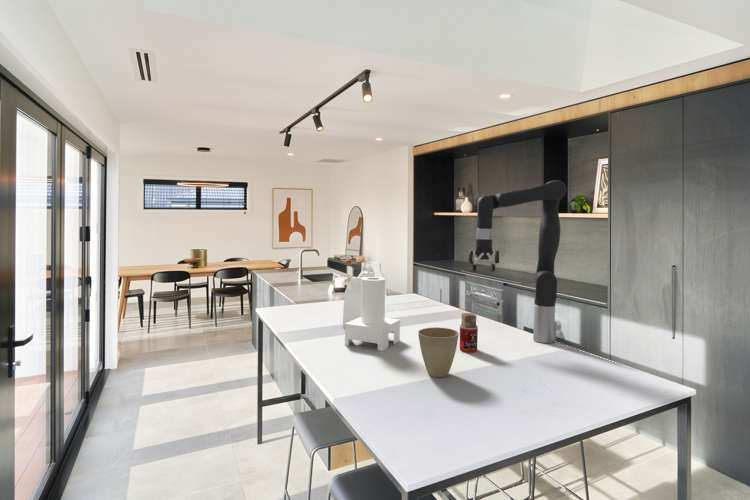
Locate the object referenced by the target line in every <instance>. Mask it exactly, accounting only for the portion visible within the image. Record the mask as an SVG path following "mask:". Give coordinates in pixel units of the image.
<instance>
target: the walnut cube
mask: <svg viewBox="0 0 750 500" xmlns="http://www.w3.org/2000/svg"><path fill="white" fill-rule="evenodd" d="M461 324H462V325H463V326H464V327H476V325H477V315H476V314H475V313H473V312H470V313H469V312H465V313H463V312H462V313H461Z"/></svg>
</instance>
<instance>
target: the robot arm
mask: <svg viewBox="0 0 750 500" xmlns="http://www.w3.org/2000/svg"><path fill="white" fill-rule="evenodd" d="M567 191H568V189H567V186H566V184H565V183H564V182H563V181H561V180H559V179H555V180H553V179H552V180H549V181H547V182H546V183H544V184H542V185H539V186H534V187H530V188H529V187H528V188H522V189H515V190H510V191H509V190H508V191H503V192H500V193H497V194H490V195H489V194H488V195H482V196H480V197H479V198H478V199H477V202H476V206H477V215H478V216H477V219H476V233H475V250H472V249H471V250H468V260H467V261H468V263H469V264H471V266H472V267H471V271H472V272H473V273H477V263H478V262H479V261H480V260H481V261H483V260H488V261H489V263H491V264H490V272H491V273H494V272H495V271H496V264H499V263H500V252H499V250H493V238H494V237H493V214H494V210H495V209H499V208H500V209H501V208H509V207H515V206H518V205H519V206H520V205H523V204H526V203H531V202H537V201H538V202H539V201H541V202H542V203H541V205H542V207H541V216H540V223H539V231H538V247H537V248H538V249H537V252H538V254H537V256H538V257H537V258H538V260H537V266H536V271H535V276H534V283H535V297H534V302H533V303H534V308H533V309H534V310H533V311H534V313H533V334H532V336H533V337H532V340H533V341H534V342H537V343H541V344H551V343H556V341H557V323H558V322H557V321H555V319H556V304H557V303H556V301H557V296H558V295H557V294H558V278H557V277H556V275H555V260H556V257H557V253H558V250H559V245H560V240H561V222H560V216H559V215H560V214H559V209H560V201H561V200H562V199H563V198H564V197H565V196H566V193H567ZM474 255H476V256H475V257H474ZM492 255H494V258H493V257H492ZM473 257H474V259H473Z"/></svg>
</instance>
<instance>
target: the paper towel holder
mask: <svg viewBox="0 0 750 500" xmlns="http://www.w3.org/2000/svg"><path fill="white" fill-rule="evenodd" d="M389 334H393V344H394V345H395V344H396V343H398V342H400V341H401V319H397V318H396V319H395V318H388V317H386V278H385V277H382V276H381V277H380V276H368V277H366V276H365V277H361V317H360V318H357V319H355V320H353V321H350V322H348V323H345V328H344V345H345V346H349V345H350V343H352V342H353V341H359V342H366V343H372V344H377V351H379V352H383V351H384V350H386V349H388V348H389Z"/></svg>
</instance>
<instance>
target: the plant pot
mask: <svg viewBox="0 0 750 500" xmlns="http://www.w3.org/2000/svg"><path fill="white" fill-rule="evenodd" d="M417 335H418V340H419V347H420V351H421V355H422V359H423V362H424V366H425V369H426V372H427V374H428V375H429V376H431V377H434V378H445V377H447V376H448V375H449V373H450V371H451V367H452V365H453V363H454V359H455V355H456V352H457V346H458V340H459V336H460V332H459V331H457V330H455V329H452V328H448V327H438V326H437V327H425V328H421V329H419V330H418V332H417Z"/></svg>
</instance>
